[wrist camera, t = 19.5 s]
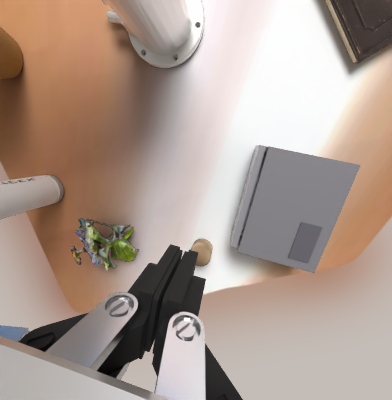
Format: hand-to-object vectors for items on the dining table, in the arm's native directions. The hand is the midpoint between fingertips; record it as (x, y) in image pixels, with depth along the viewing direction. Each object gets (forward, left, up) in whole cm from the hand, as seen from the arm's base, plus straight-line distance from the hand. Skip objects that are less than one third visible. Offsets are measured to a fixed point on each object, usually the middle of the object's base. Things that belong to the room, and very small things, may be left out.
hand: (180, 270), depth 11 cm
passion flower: (-19, -15, -27) cm, 37 cm away
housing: (+12, 0, -27) cm, 30 cm away
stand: (0, -13, -27) cm, 30 cm away
